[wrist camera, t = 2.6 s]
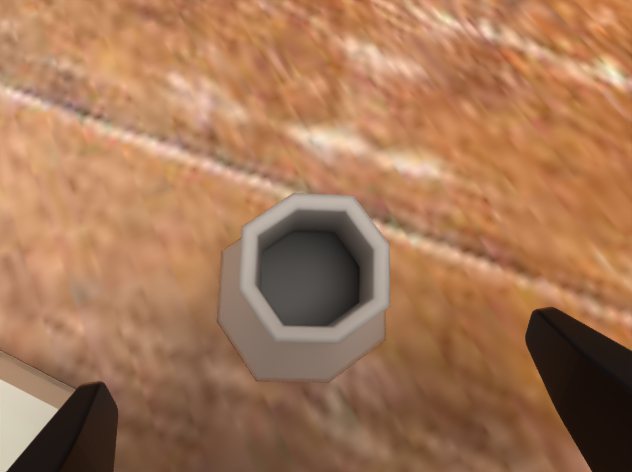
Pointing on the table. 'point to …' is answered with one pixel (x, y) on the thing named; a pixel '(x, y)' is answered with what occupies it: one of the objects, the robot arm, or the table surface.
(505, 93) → the table surface
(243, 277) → the flask
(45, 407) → the tray
